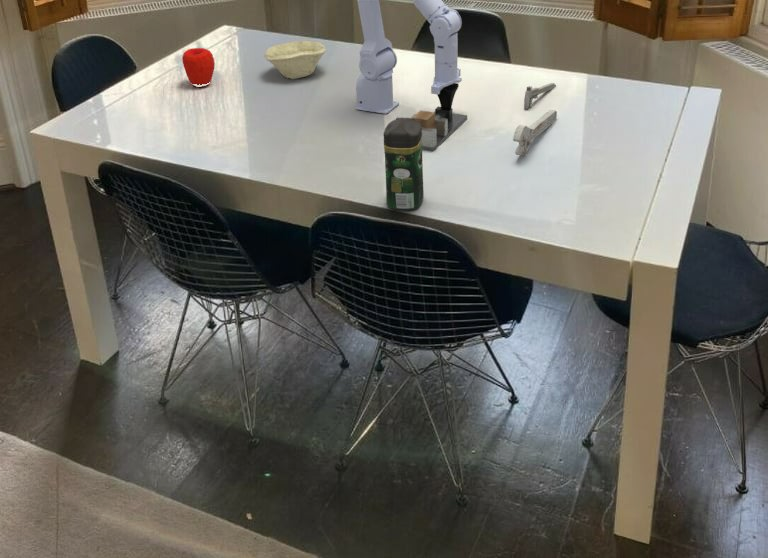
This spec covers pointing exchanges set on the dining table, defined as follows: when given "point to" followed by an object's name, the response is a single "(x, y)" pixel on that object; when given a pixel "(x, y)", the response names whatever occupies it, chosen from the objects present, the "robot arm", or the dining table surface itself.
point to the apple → (198, 65)
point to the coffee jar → (403, 164)
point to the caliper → (535, 93)
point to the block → (425, 119)
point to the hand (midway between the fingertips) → (446, 111)
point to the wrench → (532, 131)
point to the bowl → (295, 57)
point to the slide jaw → (442, 120)
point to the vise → (433, 140)
